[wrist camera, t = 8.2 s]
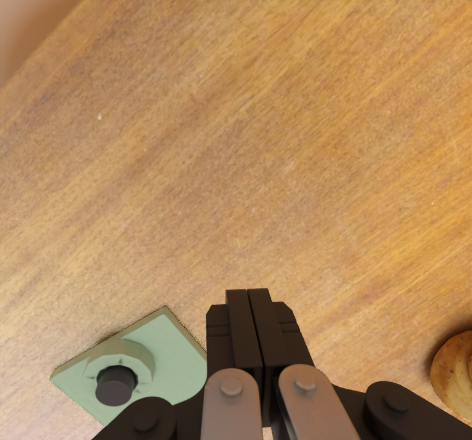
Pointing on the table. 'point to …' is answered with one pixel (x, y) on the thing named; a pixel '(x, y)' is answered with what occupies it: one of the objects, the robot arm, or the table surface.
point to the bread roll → (454, 374)
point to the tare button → (115, 385)
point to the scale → (138, 365)
